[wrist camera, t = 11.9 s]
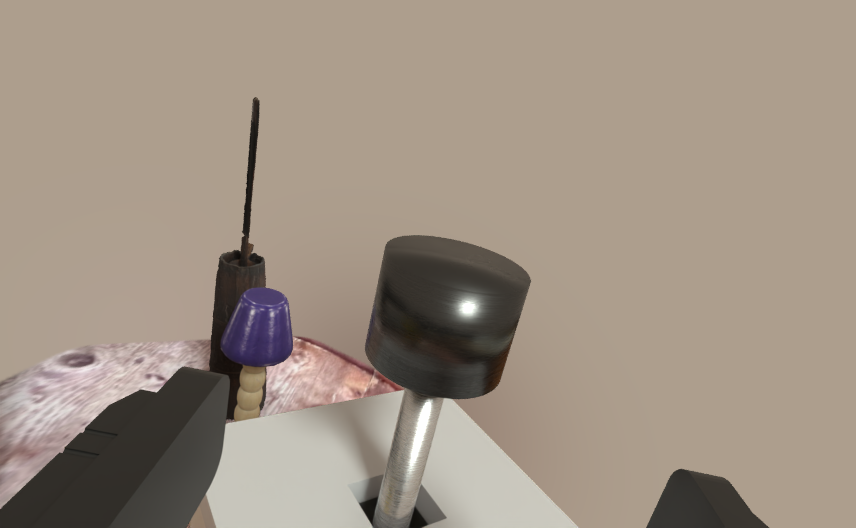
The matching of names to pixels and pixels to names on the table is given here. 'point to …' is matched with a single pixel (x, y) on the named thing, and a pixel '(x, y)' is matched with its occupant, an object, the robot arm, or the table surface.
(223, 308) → the butter churn
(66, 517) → the robot arm
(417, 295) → the plunger
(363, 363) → the table surface
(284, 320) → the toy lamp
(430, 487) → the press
